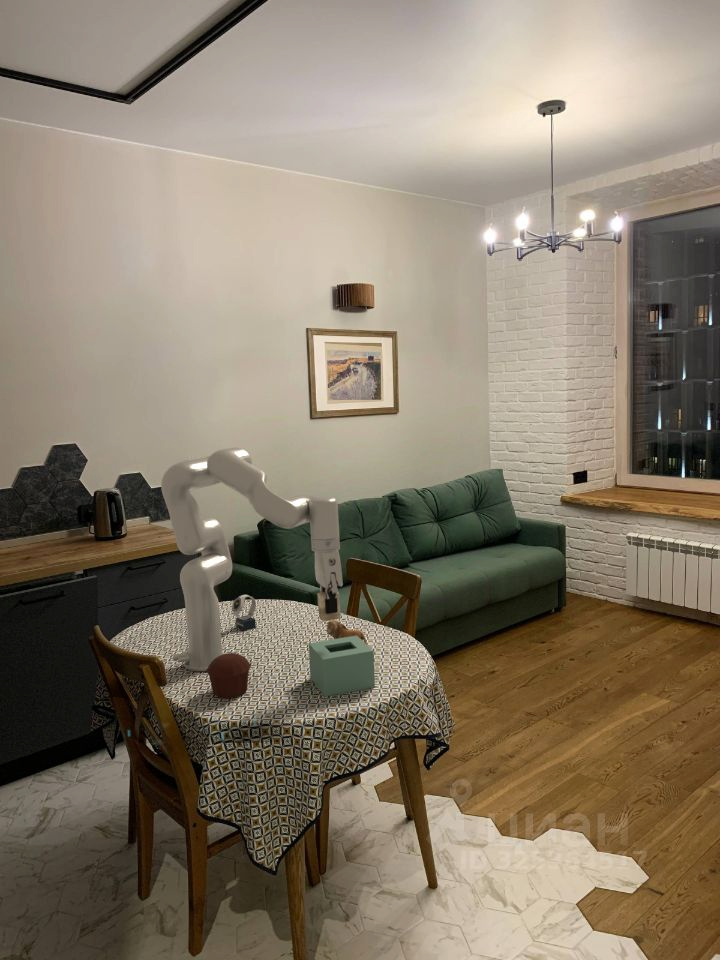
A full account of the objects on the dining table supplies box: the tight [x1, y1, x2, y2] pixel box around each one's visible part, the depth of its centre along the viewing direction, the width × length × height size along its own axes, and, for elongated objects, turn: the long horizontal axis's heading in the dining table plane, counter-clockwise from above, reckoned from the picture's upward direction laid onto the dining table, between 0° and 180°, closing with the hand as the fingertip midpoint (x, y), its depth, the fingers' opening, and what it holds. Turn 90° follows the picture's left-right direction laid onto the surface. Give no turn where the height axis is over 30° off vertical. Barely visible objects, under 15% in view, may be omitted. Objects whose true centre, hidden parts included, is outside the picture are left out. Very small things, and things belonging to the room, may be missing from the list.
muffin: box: [205, 652, 252, 700], centre depth 191 cm, size 12×11×10 cm
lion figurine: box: [325, 620, 368, 645], centre depth 218 cm, size 15×5×9 cm, turn 70°
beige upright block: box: [316, 591, 342, 622], centre depth 194 cm, size 5×4×7 cm
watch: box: [231, 594, 257, 632], centre depth 243 cm, size 6×8×11 cm
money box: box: [308, 636, 376, 697], centre depth 195 cm, size 14×13×10 cm
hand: (329, 610), depth 194 cm, fingers closed on beige upright block, 3 cm apart
